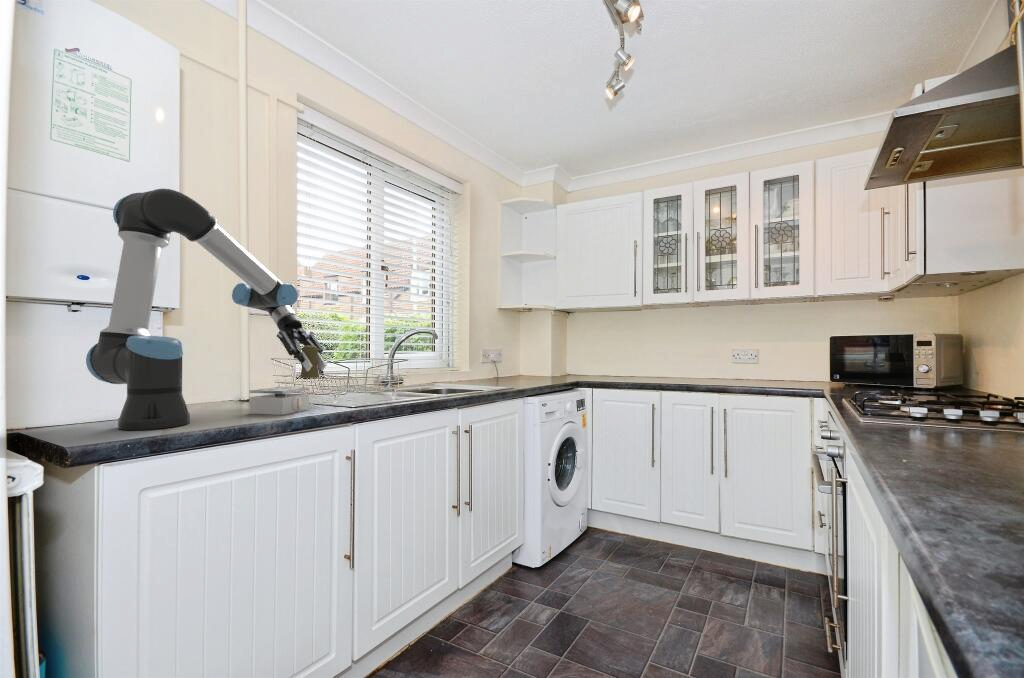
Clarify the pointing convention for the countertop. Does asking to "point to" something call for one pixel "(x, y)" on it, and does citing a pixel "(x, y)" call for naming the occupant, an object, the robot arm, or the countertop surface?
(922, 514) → the countertop surface
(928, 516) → the countertop surface
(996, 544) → the countertop surface
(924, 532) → the countertop surface
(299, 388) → the scale pan
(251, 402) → the kitchen scale
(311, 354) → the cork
